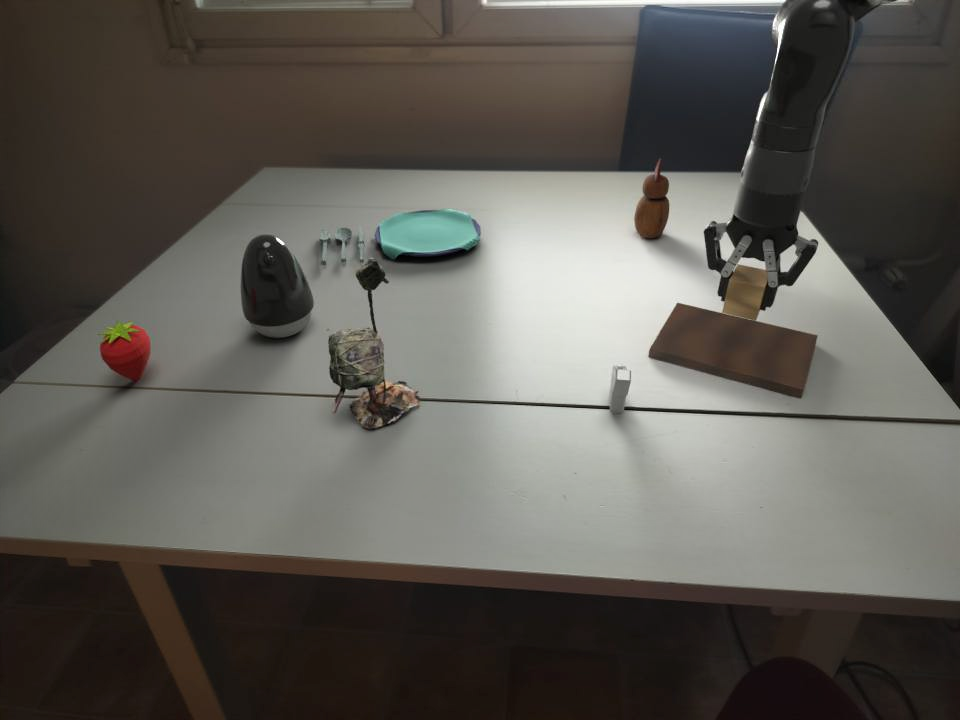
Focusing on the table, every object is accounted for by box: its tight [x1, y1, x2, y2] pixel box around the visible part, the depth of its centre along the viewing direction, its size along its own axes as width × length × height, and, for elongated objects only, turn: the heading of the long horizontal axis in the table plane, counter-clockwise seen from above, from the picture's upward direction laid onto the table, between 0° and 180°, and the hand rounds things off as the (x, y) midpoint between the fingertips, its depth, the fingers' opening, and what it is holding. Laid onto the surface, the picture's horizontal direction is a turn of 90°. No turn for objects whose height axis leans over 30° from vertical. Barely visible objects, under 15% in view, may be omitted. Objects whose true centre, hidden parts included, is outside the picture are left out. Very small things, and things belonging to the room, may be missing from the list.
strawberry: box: [97, 317, 151, 382], centre depth 88 cm, size 6×8×10 cm
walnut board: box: [647, 302, 818, 399], centre depth 94 cm, size 20×14×2 cm
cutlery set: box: [319, 208, 482, 266], centre depth 124 cm, size 20×30×2 cm, turn 99°
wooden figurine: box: [633, 158, 670, 239], centre depth 121 cm, size 7×6×15 cm
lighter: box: [609, 364, 632, 414], centre depth 82 cm, size 7×2×8 cm, turn 171°
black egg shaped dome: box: [240, 233, 315, 339], centre depth 97 cm, size 10×10×15 cm
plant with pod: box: [326, 257, 421, 430], centre depth 79 cm, size 8×11×20 cm
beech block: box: [721, 263, 768, 321], centre depth 89 cm, size 4×5×5 cm
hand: (743, 302), depth 90 cm, fingers closed on beech block, 4 cm apart
